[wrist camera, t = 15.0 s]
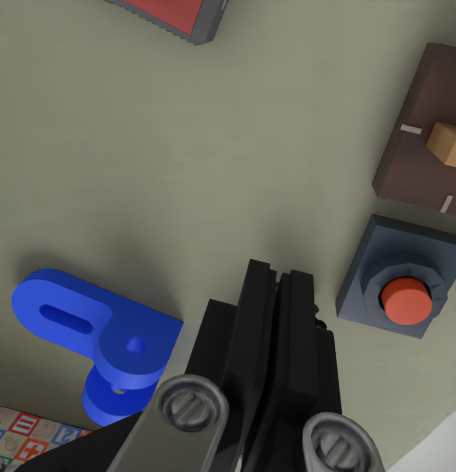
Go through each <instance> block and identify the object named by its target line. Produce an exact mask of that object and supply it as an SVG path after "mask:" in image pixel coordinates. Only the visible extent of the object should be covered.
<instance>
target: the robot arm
mask: <svg viewBox="0 0 456 472" xmlns="http://www.w3.org/2000/svg"><path fill="white" fill-rule="evenodd" d="M276 275H277V271H274V270H271V269H270V264H269V263H265V262H261V261H257V260H254V259H250V261H249V265H248V269H247V272H246V276H245V280H244V283H243V287H242V291H241V295H240V298H239V302H238V306H235V305H231V304H228V303H224V302H220V301H216V300H213V299H210V300H209V302H208V305H207V308H206V311H205V314H204V317H203V320H202V323H201V326H200V329H199V332H198V335H197V338H196V341H195V344H194V347H193V350H192V353H191V356H190V359H189V362H188V365H187V368H186V371H185V374H182V375H178V376H174V377H171V378H170V379H168V380H166V381H165V382H163V383H162V384H161V385H160V387H159V388H158V389H157V390H156V391H155V393H154V395H153V396H152V398H151V400H150V401H149V403H148V404H147V406H146V408H145V409H144V410H142V411H140V412H137V413H135V414H133V415H130V416H128V417H126V418H123V419H121V420H119V421H116V422H114V423H112V424H110V425H107V426H105V427H103V428H100V429H98V430H96V431H93V432H91V433H89V434H86V435H84V436H82V437H79V438H77V439H75V440H72V441H70V442H68V443H65V444H63V445H61V446H58V447H56V448H54V449H51V450H49V451H47V452H44V453H42V454H40V455H37V456H35V457H33V458H32V459H30V460H28V461H26V462H25V463H23V464H21V465H13V464H5V459H4V458H0V472H235V469H236V466H237V463H238V460H239V457H240V455H241V452H242V449H243V456H242V463H241V470H240V472H385V470H384V467H383V463H382V460H381V457H380V454H379V451H378V449H377V447H376V445H375V443H374V441H373V439H372V438H371V437H370V436H369V434H368V433H367V432H366V431H365V430H364V429H363V428H362V427H361V426H360V425H359V424H357V423H356V422H355V421H353V420H351V419H349V418H348V417H346V416H344V415H342V409H341V399H340V390H339V380H338V371H337V361H336V352H335V342H334V335H333V332H332V331H330V330H326V329H322V328H319V327H316V326H315V305H314V285H313V275H312V274H308V273H304V272H300V271H296V270H291V272H290V274H286V273H282V276H281V279H280V282H279V285H278V288H277V291H276V294H275V286H276ZM274 296H275V297H274ZM243 446H244V448H243Z"/></svg>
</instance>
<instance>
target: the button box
mask: <svg viewBox="0 0 456 472" xmlns="http://www.w3.org/2000/svg"><path fill="white" fill-rule="evenodd" d="M404 277H407V278H413V279H416V280H418V281H420V282H421V283H422V284H423V285H424V286H425V288H426V290H427V292H428V294H429V296H430V298H431V300H432V310H431V312H430V314H429V315H428V317H427V318H426V319H424V320H423V321H421V322H419V323H416V324H412V325H402V324H398V323H396V322H394V321H392V320H391V319H390V318H389V317H388V316H387V315H386V312H385V309H384V306H383V302H382V298H381V295H382V291H383V289H384V288H385V286H386V285H387V284H388V283H390V282H391V281H393V280H395V279H398V278H404ZM455 279H456V235H454V234H450V233H446V232H442V231H438V230H434V229H430V228H426V227H422V226H418V225H414V224H410V223H406V222H402V221H398V220H394V219H390V218H386V217H382V216H378V215H374V214H372V216H371V218H370V221H369V223H368V225H367V228H366V230H365V233H364V235H363V238H362V240H361V242H360V245H359V247H358V250H357V252H356V254H355V257H354V259H353V262H352V264H351V267H350V269H349V271H348V274H347V276H346V279H345V281H344V283H343V286H342V288H341V291H340V293H339V296H338V298H337V300H336V303H335V305H336V313H337V317H339V318H343V319H346V320H350V321H354V322H358V323H362V324H366V325H369V326H373V327H377V328H381V329H385V330H388V331H392V332H396V333H400V334H404V335H407V336H411V337H415V338H419V339H421V338H422V336H423V335H424V333H425V331H426V329H427V328H428V326H429V324H430V322H431V321H432V319H433V318H434V317H436V316H437V315H439V313H440V311H441V310H442V308H443V306H444V304H445V303H446V301H447V299H448V297H447V293H448V291H449V289H450V287H451V286H452V284H453V282H454V281H455Z"/></svg>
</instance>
